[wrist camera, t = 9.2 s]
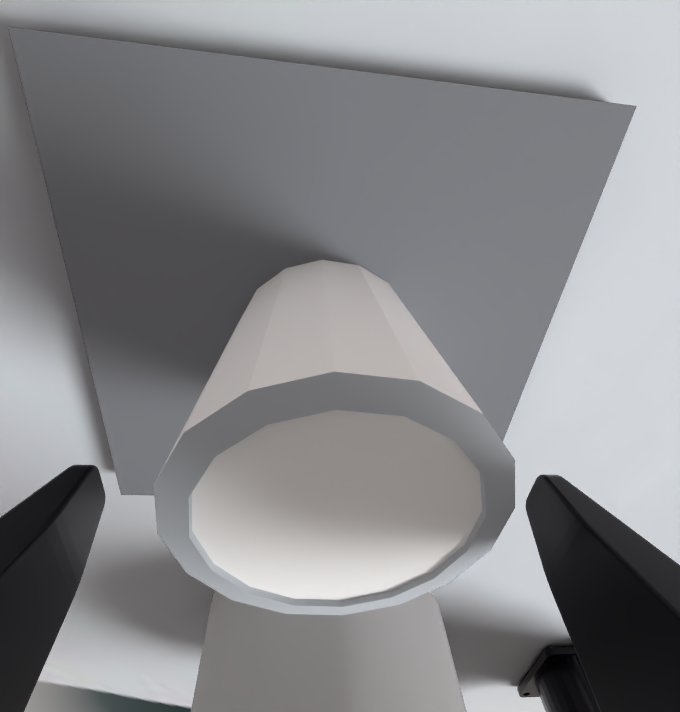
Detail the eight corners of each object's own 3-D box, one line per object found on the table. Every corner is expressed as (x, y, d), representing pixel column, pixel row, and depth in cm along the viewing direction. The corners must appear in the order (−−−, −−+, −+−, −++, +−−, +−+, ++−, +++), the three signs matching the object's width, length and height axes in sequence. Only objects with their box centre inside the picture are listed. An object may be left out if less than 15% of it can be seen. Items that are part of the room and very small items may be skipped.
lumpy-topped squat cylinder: (361, 674, 29) (380, 869, 22) (179, 632, 25) (125, 859, 17) (462, 598, 25) (527, 809, 18) (262, 532, 21) (238, 776, 13)
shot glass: (176, 350, 14) (76, 545, 8) (318, 185, 11) (331, 286, 5) (330, 450, 17) (344, 651, 11) (470, 334, 14) (589, 508, 8)
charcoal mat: (471, 482, 20) (479, 500, 19) (129, 475, 18) (120, 494, 17) (613, 105, 12) (636, 106, 11) (32, 32, 10) (7, 26, 9)
